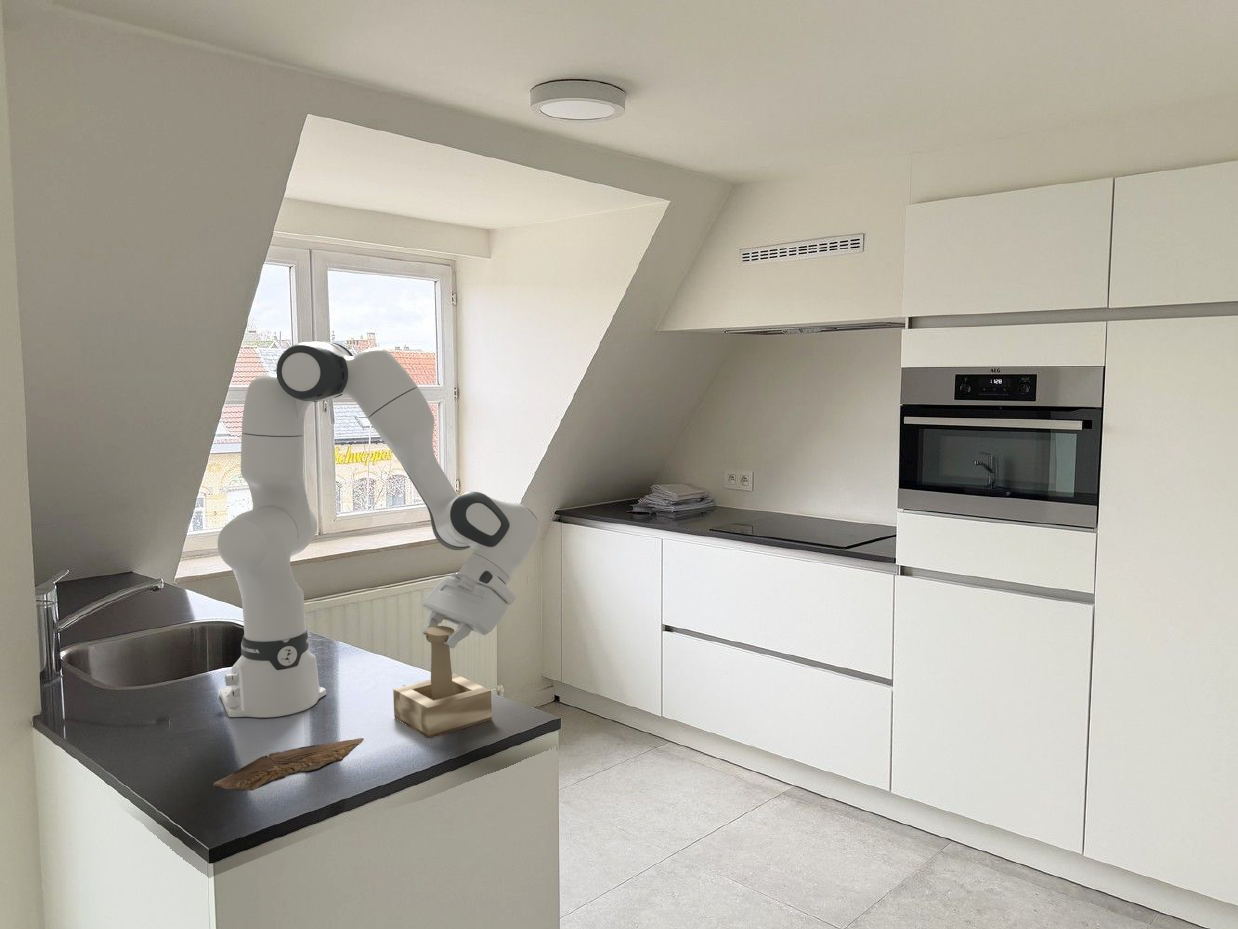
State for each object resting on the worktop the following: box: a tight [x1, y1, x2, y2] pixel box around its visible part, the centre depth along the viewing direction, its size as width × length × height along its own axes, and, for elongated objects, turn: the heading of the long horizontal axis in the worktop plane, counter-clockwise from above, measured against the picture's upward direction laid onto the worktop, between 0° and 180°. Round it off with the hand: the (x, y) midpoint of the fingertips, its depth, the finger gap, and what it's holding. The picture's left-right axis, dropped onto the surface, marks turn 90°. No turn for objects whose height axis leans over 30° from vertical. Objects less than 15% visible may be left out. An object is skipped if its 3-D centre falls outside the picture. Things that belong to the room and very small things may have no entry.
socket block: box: [392, 673, 493, 739], centre depth 171 cm, size 13×13×6 cm
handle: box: [425, 625, 455, 701], centre depth 170 cm, size 5×6×15 cm
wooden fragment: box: [213, 737, 364, 791], centre depth 153 cm, size 26×11×1 cm, turn 132°
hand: (437, 641), depth 169 cm, fingers closed on handle, 6 cm apart
